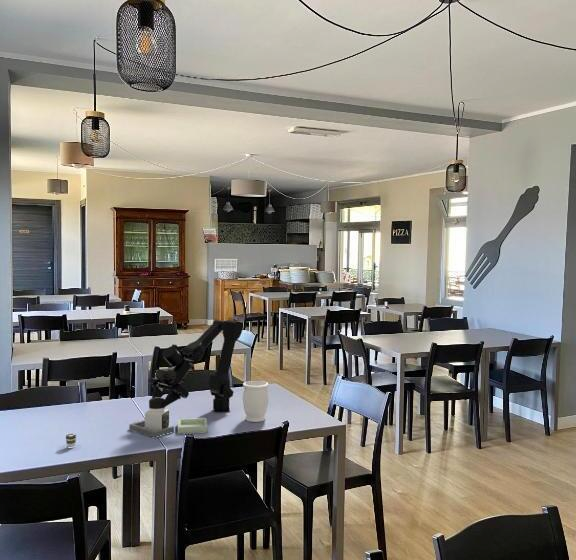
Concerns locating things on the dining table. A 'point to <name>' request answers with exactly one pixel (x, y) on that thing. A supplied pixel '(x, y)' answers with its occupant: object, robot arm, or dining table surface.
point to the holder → (139, 428)
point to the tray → (192, 425)
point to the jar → (255, 400)
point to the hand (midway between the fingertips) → (156, 406)
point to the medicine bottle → (156, 415)
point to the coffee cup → (70, 440)
